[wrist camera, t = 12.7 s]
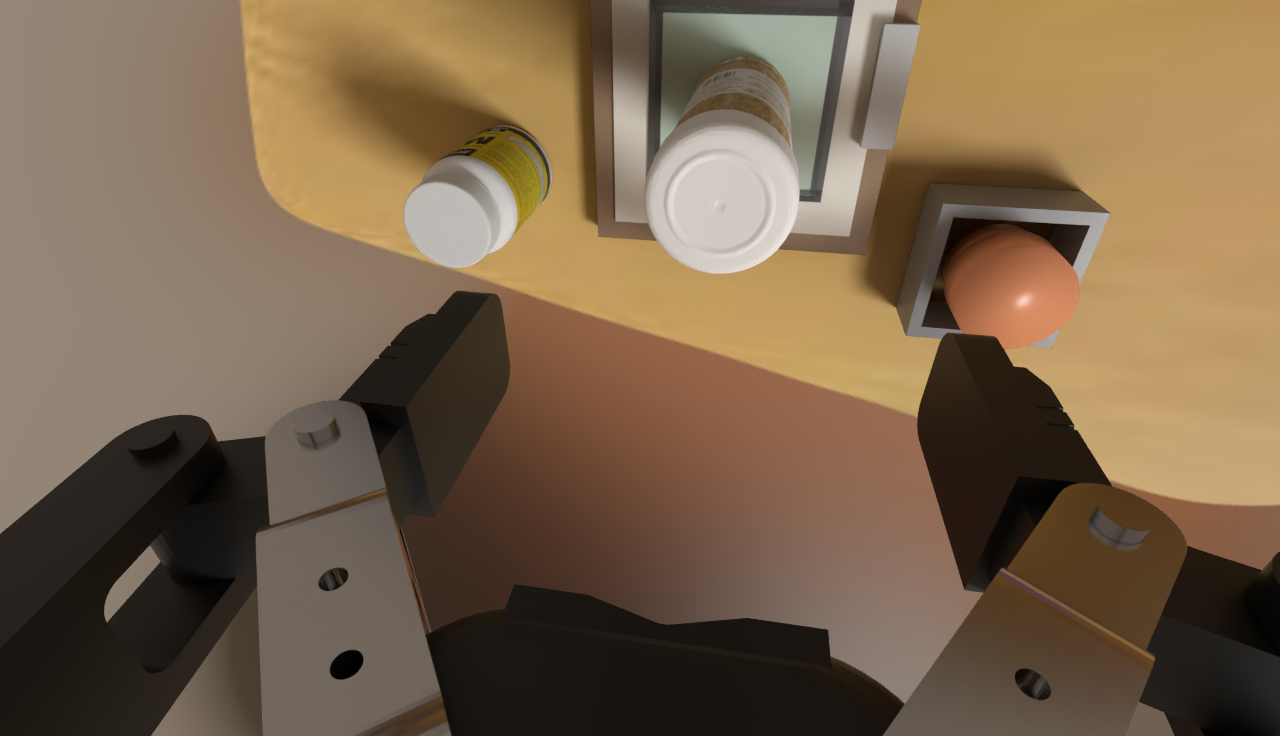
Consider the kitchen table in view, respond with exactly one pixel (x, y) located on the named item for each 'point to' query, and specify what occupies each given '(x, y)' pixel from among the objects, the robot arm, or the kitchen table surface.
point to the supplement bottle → (478, 196)
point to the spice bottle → (726, 171)
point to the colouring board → (817, 84)
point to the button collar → (1068, 209)
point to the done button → (1009, 285)
